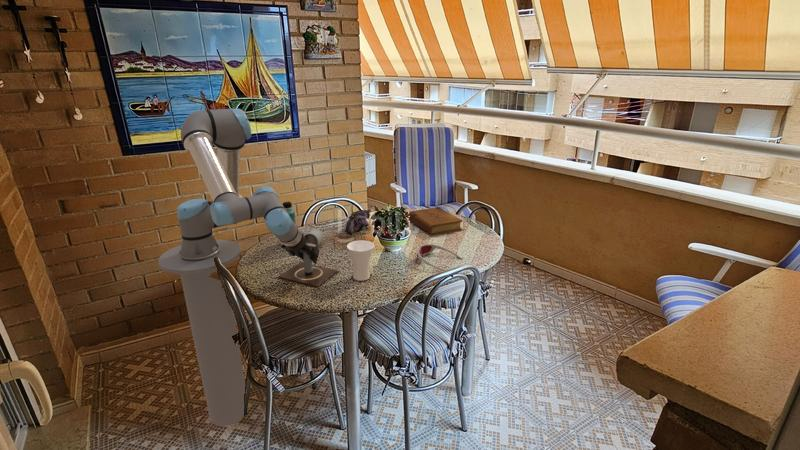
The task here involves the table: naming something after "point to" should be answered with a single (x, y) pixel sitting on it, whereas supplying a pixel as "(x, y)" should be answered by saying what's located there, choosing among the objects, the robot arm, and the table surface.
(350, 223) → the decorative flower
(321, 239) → the ceramic mug
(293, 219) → the beverage bottle
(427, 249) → the sunglasses
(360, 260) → the cup
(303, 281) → the drawing board
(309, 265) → the cylinder
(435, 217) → the diary
